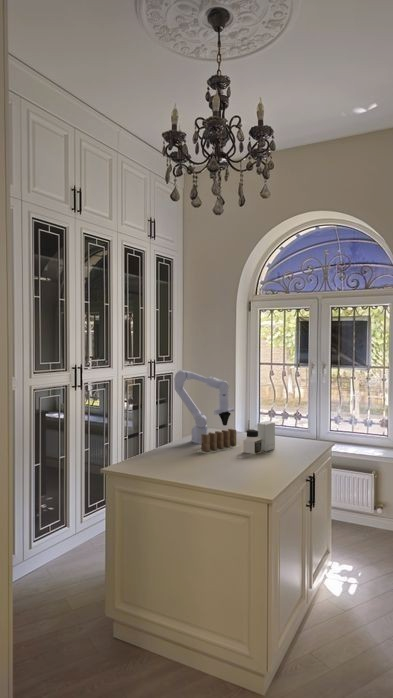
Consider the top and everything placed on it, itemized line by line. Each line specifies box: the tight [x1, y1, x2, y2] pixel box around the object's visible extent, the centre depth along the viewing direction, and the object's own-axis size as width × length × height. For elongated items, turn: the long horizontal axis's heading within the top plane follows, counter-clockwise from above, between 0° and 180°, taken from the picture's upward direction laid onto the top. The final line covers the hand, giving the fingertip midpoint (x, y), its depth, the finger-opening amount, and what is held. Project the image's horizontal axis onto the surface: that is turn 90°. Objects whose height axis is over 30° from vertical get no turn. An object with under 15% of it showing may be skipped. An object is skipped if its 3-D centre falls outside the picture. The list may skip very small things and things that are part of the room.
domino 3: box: [221, 429, 231, 449], centre depth 254 cm, size 5×2×9 cm, turn 41°
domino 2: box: [214, 430, 224, 449], centre depth 250 cm, size 5×2×9 cm, turn 41°
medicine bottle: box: [242, 428, 262, 456], centre depth 243 cm, size 7×7×12 cm
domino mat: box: [197, 444, 241, 455], centre depth 250 cm, size 8×26×1 cm, turn 131°
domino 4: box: [227, 428, 237, 446], centre depth 257 cm, size 5×2×9 cm, turn 41°
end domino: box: [200, 434, 210, 453], centre depth 244 cm, size 5×2×9 cm, turn 41°
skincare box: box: [256, 420, 276, 452], centre depth 248 cm, size 8×6×15 cm
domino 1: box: [208, 431, 218, 452], centre depth 247 cm, size 5×2×9 cm, turn 41°
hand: (224, 425), depth 265 cm, fingers closed
